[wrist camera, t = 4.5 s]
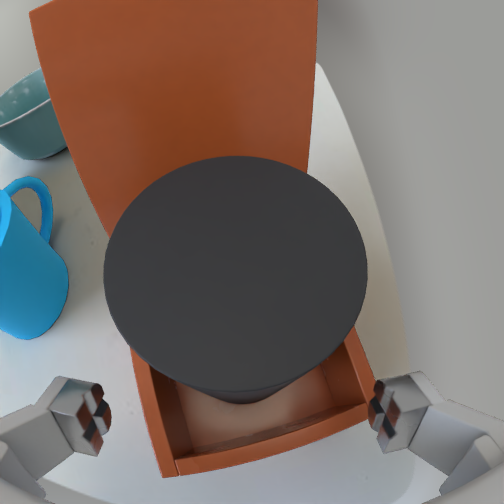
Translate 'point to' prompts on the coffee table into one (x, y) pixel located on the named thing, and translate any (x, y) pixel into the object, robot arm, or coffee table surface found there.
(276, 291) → the tapered grey cylinder
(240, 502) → the coffee table surface
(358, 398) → the orange open box
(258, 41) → the orange box lid
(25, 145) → the bowl
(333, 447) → the coffee table surface
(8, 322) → the mug
